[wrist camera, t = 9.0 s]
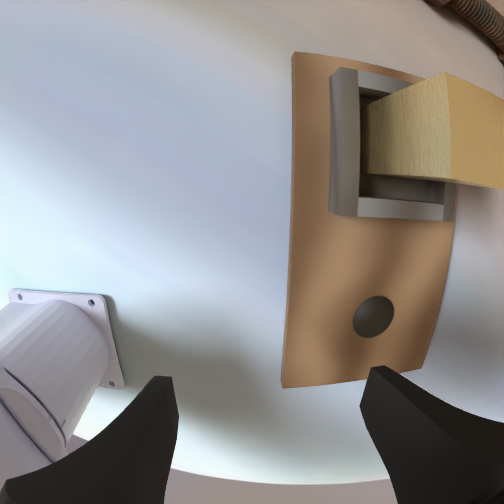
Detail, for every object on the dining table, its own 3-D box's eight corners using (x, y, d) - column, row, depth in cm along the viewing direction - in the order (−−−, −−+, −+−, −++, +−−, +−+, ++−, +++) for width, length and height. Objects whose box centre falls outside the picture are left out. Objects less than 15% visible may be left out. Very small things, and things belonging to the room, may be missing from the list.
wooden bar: (361, 173, 16) (450, 178, 8) (361, 107, 15) (445, 72, 7) (415, 179, 16) (509, 191, 9) (415, 118, 15) (506, 101, 7)
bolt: (372, -28, 14) (497, 53, 16) (378, -13, 13) (514, 81, 14) (395, -72, 9) (524, 23, 10) (406, -65, 7) (547, 49, 9)
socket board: (280, 380, 21) (286, 406, 18) (291, 57, 15) (302, 37, 12) (416, 362, 21) (432, 381, 18) (446, 91, 16) (471, 85, 13)
